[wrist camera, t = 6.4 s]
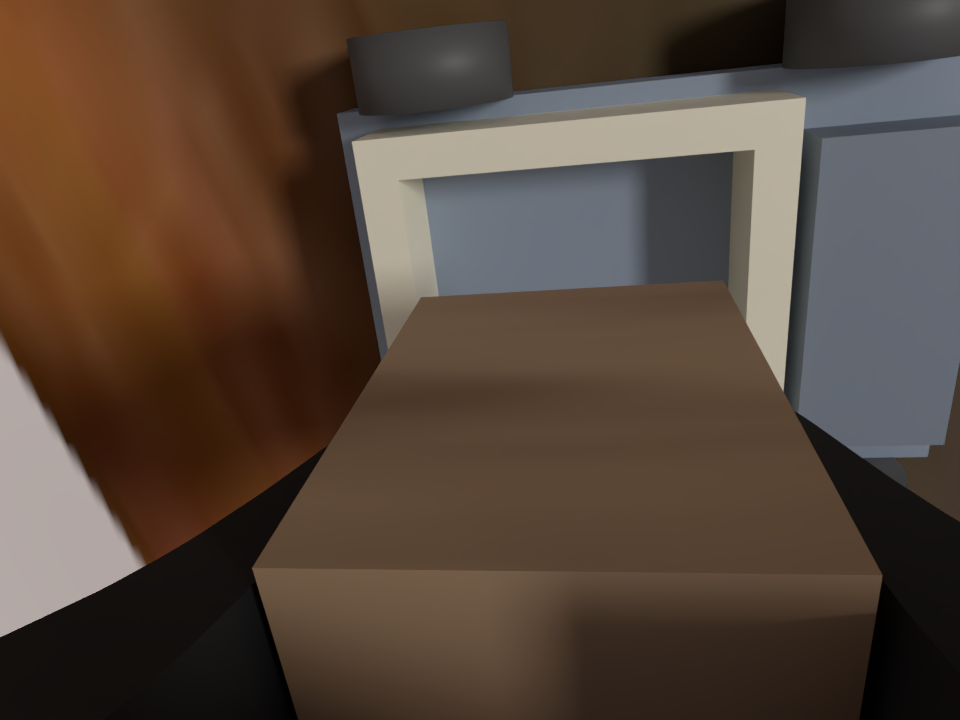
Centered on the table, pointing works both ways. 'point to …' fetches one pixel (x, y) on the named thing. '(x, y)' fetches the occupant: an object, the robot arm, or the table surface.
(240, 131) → the table surface
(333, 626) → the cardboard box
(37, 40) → the table surface
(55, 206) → the table surface
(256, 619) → the robot arm
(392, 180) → the toy truck
